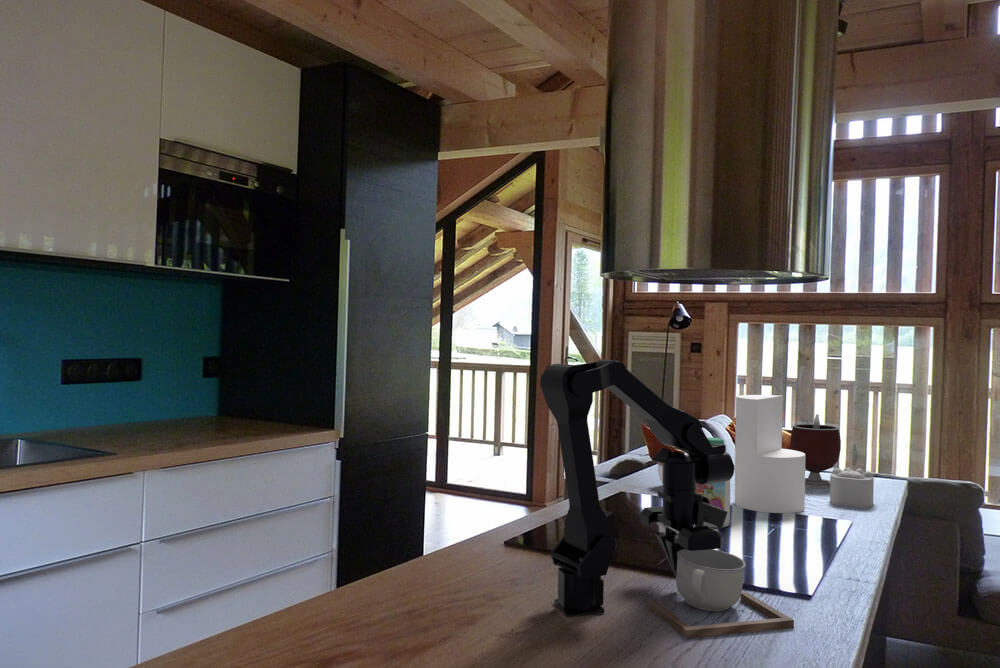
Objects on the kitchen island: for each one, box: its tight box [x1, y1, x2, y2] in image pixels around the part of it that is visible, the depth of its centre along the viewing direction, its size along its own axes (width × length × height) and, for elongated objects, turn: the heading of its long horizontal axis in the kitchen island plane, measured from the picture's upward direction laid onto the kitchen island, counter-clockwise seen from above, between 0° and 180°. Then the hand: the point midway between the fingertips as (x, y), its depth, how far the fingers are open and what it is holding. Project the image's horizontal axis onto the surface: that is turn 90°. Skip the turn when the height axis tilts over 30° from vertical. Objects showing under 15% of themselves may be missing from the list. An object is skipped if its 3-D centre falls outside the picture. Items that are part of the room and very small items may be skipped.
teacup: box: [675, 549, 746, 612], centre depth 127 cm, size 14×11×8 cm
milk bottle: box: [696, 437, 731, 529], centre depth 182 cm, size 8×8×20 cm
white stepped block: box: [733, 394, 806, 514], centre depth 203 cm, size 17×17×28 cm
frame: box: [647, 592, 795, 639], centre depth 122 cm, size 18×13×1 cm
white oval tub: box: [829, 467, 875, 509], centre depth 209 cm, size 10×13×9 cm
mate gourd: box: [789, 414, 842, 489], centre depth 233 cm, size 16×14×20 cm
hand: (678, 576), depth 136 cm, fingers closed
